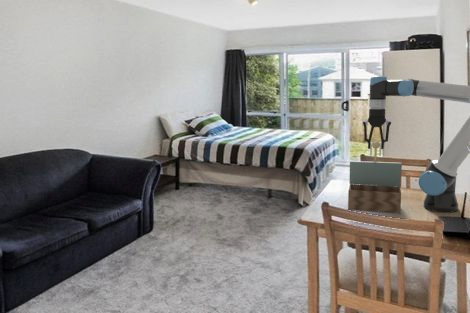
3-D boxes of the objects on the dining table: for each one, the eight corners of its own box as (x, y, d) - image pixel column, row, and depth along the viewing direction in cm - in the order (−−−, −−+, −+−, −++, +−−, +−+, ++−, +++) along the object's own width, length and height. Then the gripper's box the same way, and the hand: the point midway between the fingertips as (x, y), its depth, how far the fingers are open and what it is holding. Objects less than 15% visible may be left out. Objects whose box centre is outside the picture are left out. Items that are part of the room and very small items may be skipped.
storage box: (399, 205, 202) (399, 186, 201) (400, 213, 191) (401, 193, 189) (349, 202, 210) (350, 184, 208) (348, 209, 199) (348, 190, 197)
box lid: (400, 187, 199) (400, 184, 203) (403, 142, 192) (402, 140, 196) (349, 184, 208) (349, 182, 211) (349, 141, 200) (350, 139, 204)
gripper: (359, 108, 196) (357, 156, 200) (396, 108, 190) (393, 157, 195) (359, 107, 203) (358, 153, 207) (395, 107, 197) (393, 154, 202)
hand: (375, 155), depth 201 cm, fingers closed on box lid, 4 cm apart
